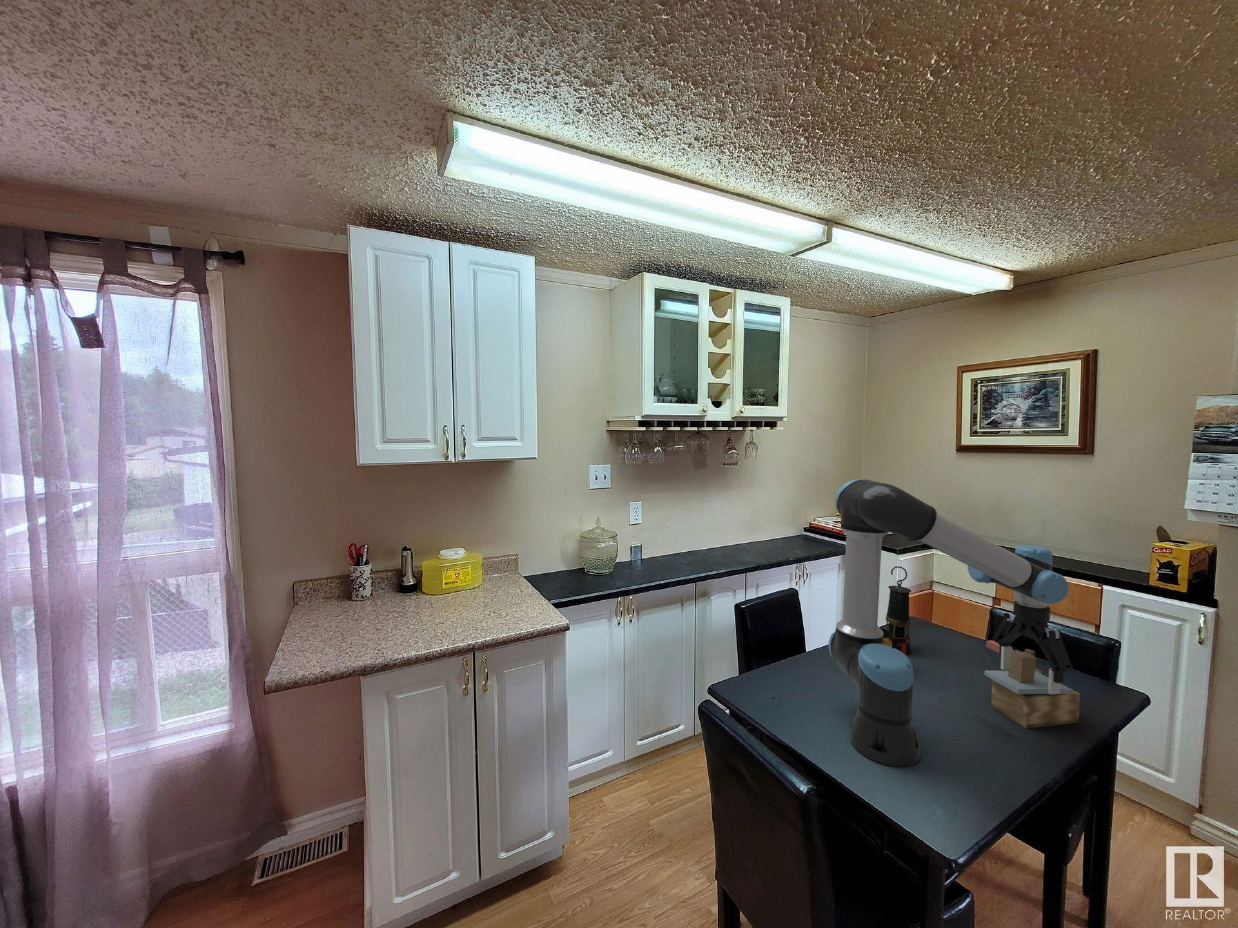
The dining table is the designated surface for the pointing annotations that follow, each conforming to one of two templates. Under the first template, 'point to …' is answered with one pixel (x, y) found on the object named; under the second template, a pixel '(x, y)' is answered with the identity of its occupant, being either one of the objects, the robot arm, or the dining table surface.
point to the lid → (1023, 676)
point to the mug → (893, 640)
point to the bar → (993, 645)
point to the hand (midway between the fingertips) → (1028, 680)
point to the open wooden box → (1036, 707)
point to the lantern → (899, 613)
